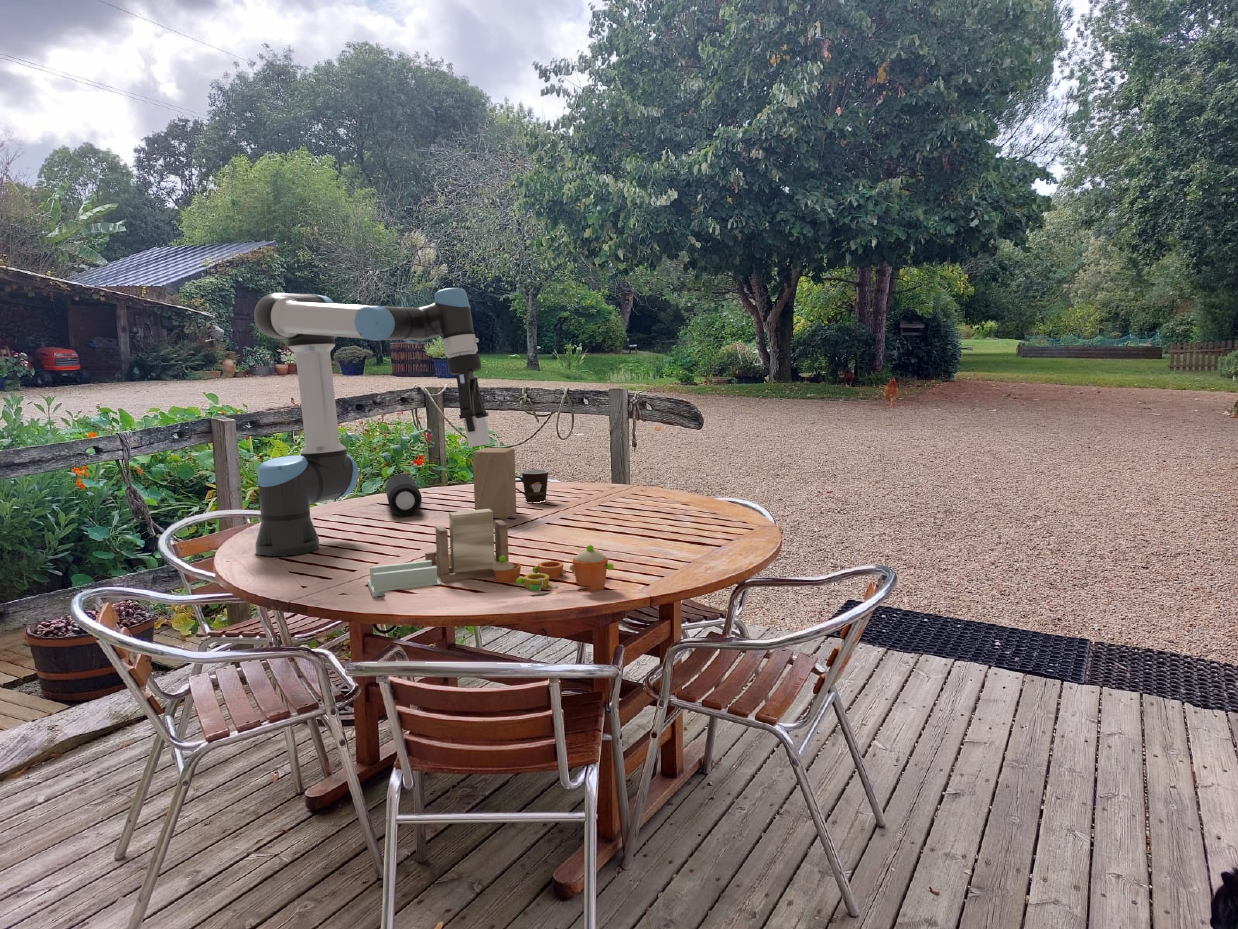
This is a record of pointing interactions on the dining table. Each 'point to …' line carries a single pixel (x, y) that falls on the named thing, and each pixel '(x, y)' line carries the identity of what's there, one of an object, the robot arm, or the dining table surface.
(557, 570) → the toy tea set
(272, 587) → the dining table surface
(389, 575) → the stand
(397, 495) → the portable speaker
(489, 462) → the wooden block
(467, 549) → the birch block
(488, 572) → the rack
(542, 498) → the coffee mug
